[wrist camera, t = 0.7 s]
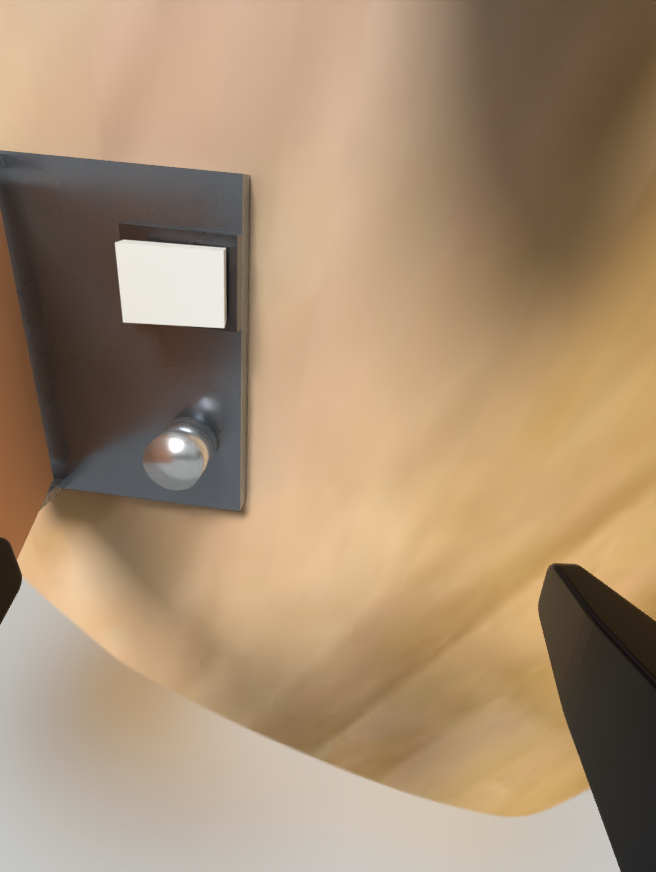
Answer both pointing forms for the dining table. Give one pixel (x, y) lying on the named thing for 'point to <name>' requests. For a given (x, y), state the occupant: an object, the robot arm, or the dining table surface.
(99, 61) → the dining table surface
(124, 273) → the block
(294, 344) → the dining table surface
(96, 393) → the panel
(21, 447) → the orange lever
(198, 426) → the metal button
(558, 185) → the dining table surface
